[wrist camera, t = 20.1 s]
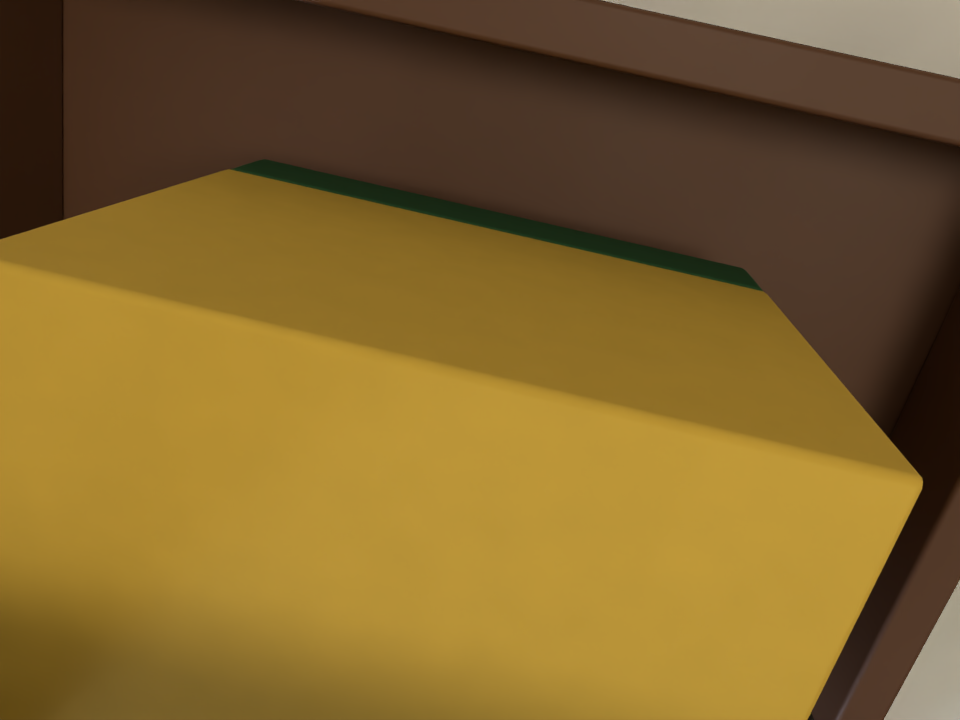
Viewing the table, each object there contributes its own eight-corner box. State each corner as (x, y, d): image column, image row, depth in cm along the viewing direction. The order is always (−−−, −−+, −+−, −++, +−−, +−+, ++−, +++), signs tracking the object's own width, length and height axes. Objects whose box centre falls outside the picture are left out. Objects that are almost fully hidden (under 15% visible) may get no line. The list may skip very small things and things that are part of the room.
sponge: (210, 703, 13) (-1, 1076, 8) (259, 156, 9) (-55, 250, 5) (564, 792, 12) (560, 1224, 8) (748, 268, 9) (930, 481, 4)
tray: (52, 706, 15) (-32, 811, 13) (43, -107, 10) (-102, -154, 8) (707, 869, 15) (730, 1005, 13) (1063, 117, 9) (1208, 131, 7)
